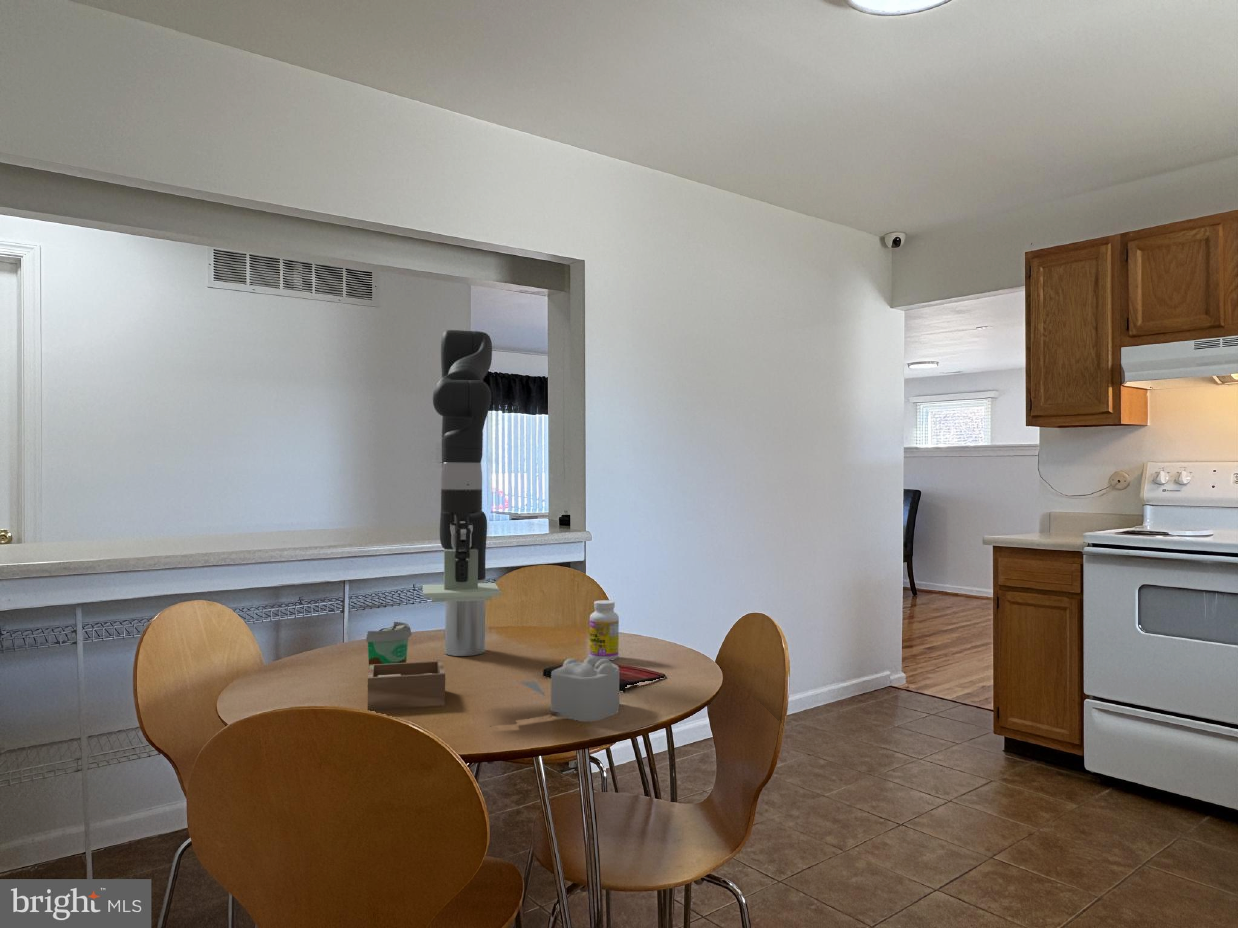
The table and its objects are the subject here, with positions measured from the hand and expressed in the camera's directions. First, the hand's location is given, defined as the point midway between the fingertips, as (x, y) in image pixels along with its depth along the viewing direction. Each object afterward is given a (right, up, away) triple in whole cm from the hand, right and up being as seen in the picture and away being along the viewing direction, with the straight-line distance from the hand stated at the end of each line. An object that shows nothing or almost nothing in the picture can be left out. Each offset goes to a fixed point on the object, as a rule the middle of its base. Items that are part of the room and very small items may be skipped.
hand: (460, 579), depth 150 cm
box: (-9, -22, -4) cm, 24 cm away
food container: (-17, -22, +17) cm, 33 cm away
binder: (+27, -23, +17) cm, 39 cm away
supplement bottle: (+26, -23, +34) cm, 49 cm away
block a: (-12, -21, -5) cm, 24 cm away
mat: (+8, -22, +2) cm, 23 cm away
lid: (0, -3, 0) cm, 3 cm away
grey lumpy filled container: (+24, -22, -8) cm, 33 cm away
